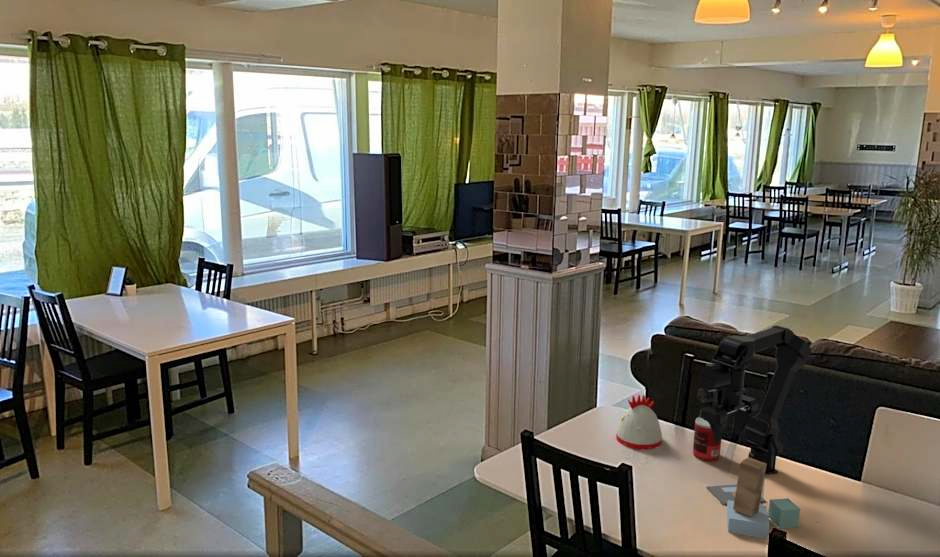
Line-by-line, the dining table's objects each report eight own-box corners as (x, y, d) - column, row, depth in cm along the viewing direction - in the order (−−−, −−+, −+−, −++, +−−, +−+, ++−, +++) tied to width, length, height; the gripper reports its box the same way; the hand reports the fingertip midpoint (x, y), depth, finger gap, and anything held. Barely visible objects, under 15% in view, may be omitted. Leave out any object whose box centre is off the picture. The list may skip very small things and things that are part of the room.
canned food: (721, 452, 212) (724, 418, 209) (718, 463, 205) (721, 428, 202) (694, 447, 215) (697, 414, 213) (690, 458, 208) (693, 423, 206)
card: (747, 485, 192) (747, 483, 192) (765, 502, 183) (765, 500, 183) (706, 487, 191) (706, 486, 190) (722, 504, 182) (722, 503, 182)
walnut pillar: (740, 503, 175) (748, 457, 173) (758, 511, 172) (766, 463, 170) (733, 509, 172) (740, 461, 170) (751, 517, 169) (759, 468, 167)
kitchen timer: (610, 431, 226) (613, 387, 223) (651, 430, 228) (654, 386, 225) (624, 450, 213) (627, 404, 210) (668, 448, 214) (671, 402, 211)
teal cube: (786, 516, 177) (788, 498, 176) (797, 527, 172) (800, 508, 171) (767, 517, 176) (769, 499, 175) (779, 528, 171) (781, 510, 170)
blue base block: (726, 514, 178) (727, 500, 177) (764, 520, 176) (765, 506, 175) (727, 533, 170) (729, 518, 169) (767, 539, 167) (769, 524, 166)
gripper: (726, 369, 200) (721, 420, 203) (685, 382, 189) (680, 436, 192) (762, 380, 191) (756, 434, 194) (721, 394, 180) (716, 451, 183)
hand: (726, 438), depth 191 cm, fingers open, 9 cm apart
